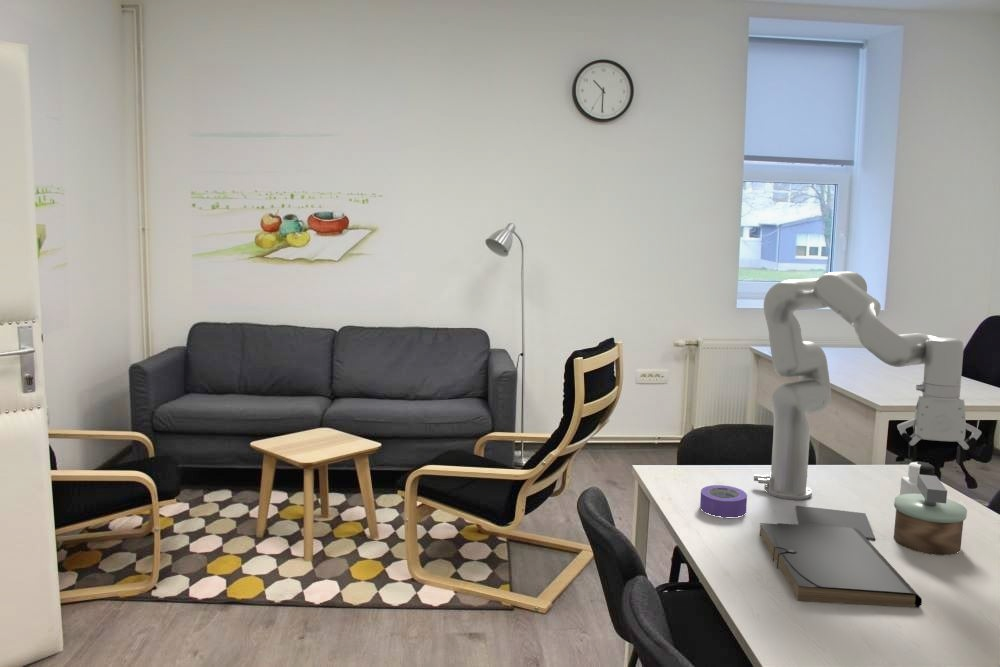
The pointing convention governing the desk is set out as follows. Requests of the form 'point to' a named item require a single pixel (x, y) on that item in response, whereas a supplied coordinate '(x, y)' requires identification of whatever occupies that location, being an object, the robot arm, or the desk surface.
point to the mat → (834, 519)
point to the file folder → (835, 566)
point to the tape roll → (723, 501)
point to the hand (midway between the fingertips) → (936, 462)
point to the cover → (930, 502)
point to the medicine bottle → (915, 477)
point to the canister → (927, 535)
